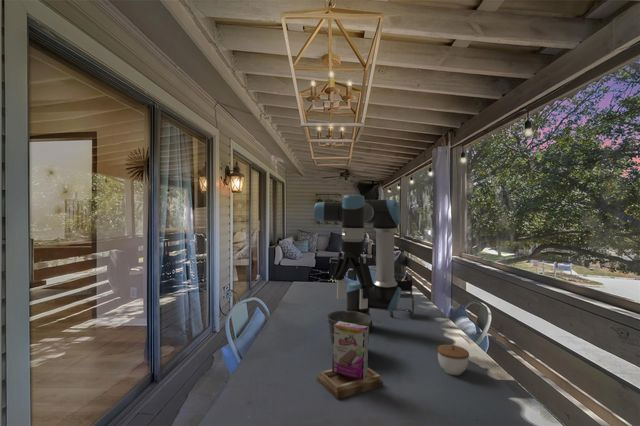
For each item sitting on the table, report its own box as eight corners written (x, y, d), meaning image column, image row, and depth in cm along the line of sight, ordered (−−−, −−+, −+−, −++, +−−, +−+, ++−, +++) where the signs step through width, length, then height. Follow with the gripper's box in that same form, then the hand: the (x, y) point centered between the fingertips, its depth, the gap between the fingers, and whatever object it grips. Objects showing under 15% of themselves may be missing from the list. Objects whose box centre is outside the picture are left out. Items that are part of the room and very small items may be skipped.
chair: (411, 310, 196) (411, 274, 196) (414, 319, 179) (414, 279, 179) (389, 309, 198) (390, 273, 198) (390, 317, 181) (390, 278, 181)
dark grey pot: (340, 366, 121) (341, 326, 121) (319, 348, 137) (319, 313, 137) (378, 357, 129) (379, 320, 129) (354, 342, 145) (355, 308, 145)
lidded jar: (433, 364, 125) (433, 339, 125) (461, 365, 125) (461, 340, 125) (442, 377, 114) (443, 351, 114) (473, 379, 114) (474, 352, 114)
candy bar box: (331, 373, 109) (332, 324, 109) (337, 367, 114) (338, 320, 114) (363, 381, 105) (364, 330, 105) (367, 374, 109) (369, 325, 109)
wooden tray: (359, 369, 119) (359, 360, 119) (382, 385, 108) (383, 376, 108) (316, 380, 110) (316, 371, 110) (337, 399, 99) (337, 389, 99)
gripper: (324, 237, 119) (323, 295, 119) (366, 244, 97) (364, 314, 97) (341, 237, 123) (340, 293, 123) (385, 243, 101) (384, 311, 101)
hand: (351, 303), depth 110 cm, fingers open, 13 cm apart
